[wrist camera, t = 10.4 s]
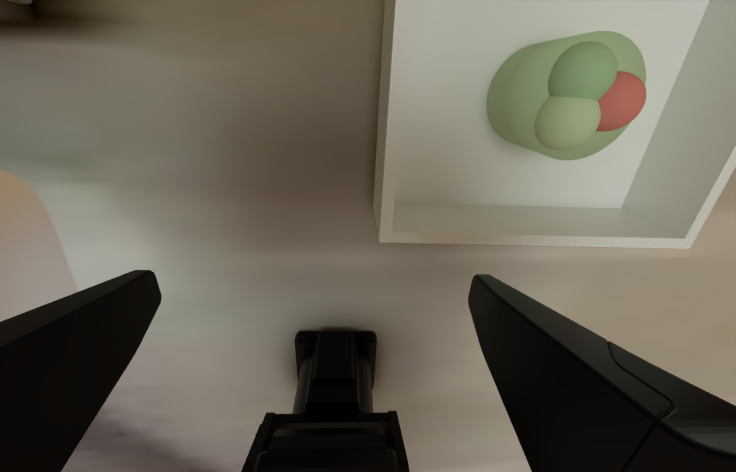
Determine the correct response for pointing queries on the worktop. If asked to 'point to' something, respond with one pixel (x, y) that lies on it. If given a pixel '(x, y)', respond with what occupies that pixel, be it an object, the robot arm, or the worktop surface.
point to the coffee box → (22, 1)
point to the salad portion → (568, 94)
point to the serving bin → (534, 170)
